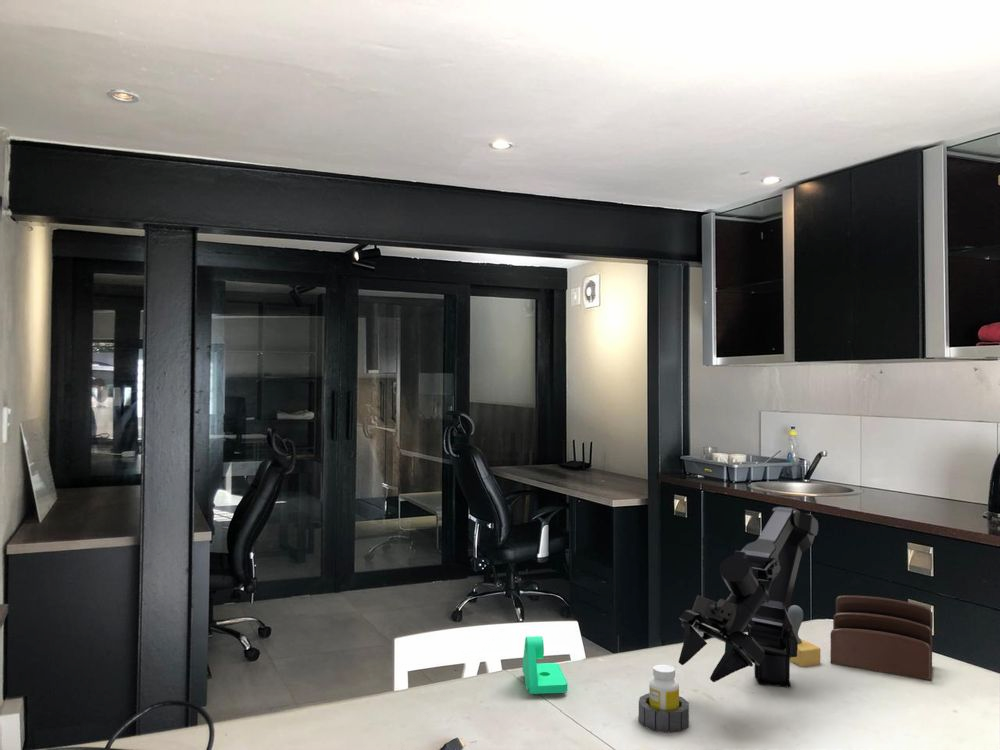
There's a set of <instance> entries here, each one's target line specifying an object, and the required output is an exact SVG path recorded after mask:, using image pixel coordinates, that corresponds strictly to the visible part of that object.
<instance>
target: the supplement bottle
mask: <svg viewBox="0 0 1000 750" xmlns="http://www.w3.org/2000/svg"><path fill="white" fill-rule="evenodd" d="M652 668H653V669H652V670H653V671H652V675H653V677H652V678H650V680H649V684H648V685H649V686H648V687H649V690H648V691H649V692H648V693H649V702H650V706H651V707H653V708H656V709H661V710H674V709H678V708H679V696H680V684H679V682H678V681H677V679H676V669H675V667H674V666H672V665H669V664H656V665H654V666H653V667H652Z"/></svg>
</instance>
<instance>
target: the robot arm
mask: <svg viewBox="0 0 1000 750" xmlns="http://www.w3.org/2000/svg"><path fill="white" fill-rule="evenodd" d="M818 533H819V522H818V519H816V518H815V517H814V516H813V514H811V513H805V512H801V511H800V510H798V509H796V508H795V507H786V506H785V507H784V506H777V507H775V506H774V507H773V508H772V511H771V516H770V518H769V520H768V521H767V522H766V524H765V526H764V527H763V530H762V531H761V532H760V535H759V536H758V538H757V539H756V540H755V541H752V542H749V543H746V545H745V546H744V547H743V548H742V549H741V550H735V551H734V554H733V555H730V556H728V557H726V558H725V559H724V560H723V561H722V562H721V563H720V565H719V574H720V576H721V577H722V579H723V581H724V583H725V585H726V587H728V590H729V591H730V594H729V596H728V597H727V598H725V599H724V598H720V599H718V601H714V600H711V599H709V598H707V597H705V596H702V595H699V594H697V596H696V598H695V601H694V603H693V605H692V606H693V607H692V609H686V610H683V612H682V614H681V615H680V616H679V620H680V621H681V626H682V628H683V630H684V639H683V644H682V648H681V651H680V653H679V658H678V663H679V665H681V666H684V665H685V664H686V663H688V662H689V661H690V660H691V659H693V657H695V655H697V654H698V653H699V652H700V651H701V650H702V649H703V648H704V647H705V646H706V645H708V643H707V640H710V639H711V637H712V638H714V639H717V640H719V641H720V642H724V645H725V646H724V653H723V655H722V656H721V658H720V660H719V662H718V663H717V665H716V666H715V667H714V669H713V671H712V673H711V675H710V677H709V679H710V681H711V682H712V683H715V682H718V681H720V680H721V679H723V678H725V677H727V676H729V675H731V674H733V673H735V672H738V671H740V670H743V669H744V668H747V667H753V669H754V670H753V672H754V678H755V679H756V681H757V684H758V685H763V686H771V687H781V688H791V687H792V683H791V680H790V677H791V676H790V672H791V671H790V670H791V669H790V668H791V666H790V665H791V664H790V662H791V661H790V658H791V657H797V650H798V647H797V646H798V642H797V639H796V637H795V635H794V633H793V630H792V628H793V626H792V623H791V621H790V618H789V615H788V609H789V607H790V606H791V605H790V603H791V601H792V596H793V592H794V588H795V582H796V579H797V575H798V571H799V567H800V562H801V558H802V554H803V553H805V552H806V551H807V550H808V549H809V548H810V547H812V546H813V542H814V540H815V536H817V535H818ZM762 581H764V582H765V581H766V582H770V584H769V587H766V586H764V584H763V583H762ZM700 613H701V614H700ZM746 628H747V633H745V630H746Z"/></svg>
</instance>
